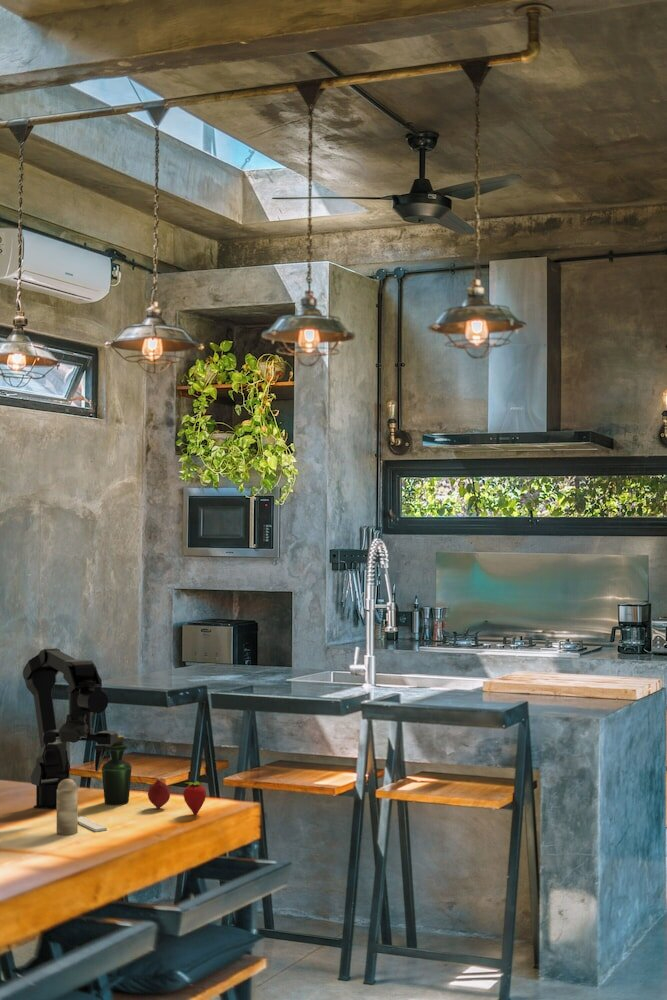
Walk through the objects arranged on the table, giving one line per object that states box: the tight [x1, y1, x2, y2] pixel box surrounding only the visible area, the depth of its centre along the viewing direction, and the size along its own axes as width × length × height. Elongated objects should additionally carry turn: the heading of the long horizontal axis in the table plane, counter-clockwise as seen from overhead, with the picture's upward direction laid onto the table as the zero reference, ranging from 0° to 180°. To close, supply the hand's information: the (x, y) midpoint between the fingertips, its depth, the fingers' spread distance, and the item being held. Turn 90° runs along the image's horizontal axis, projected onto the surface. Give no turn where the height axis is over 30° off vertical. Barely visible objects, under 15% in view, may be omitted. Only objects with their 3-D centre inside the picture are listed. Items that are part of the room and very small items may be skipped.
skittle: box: [56, 778, 79, 836], centre depth 296 cm, size 5×5×13 cm
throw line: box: [78, 816, 108, 833], centre depth 304 cm, size 16×3×1 cm, turn 33°
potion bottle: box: [101, 734, 132, 806], centre depth 332 cm, size 8×8×18 cm
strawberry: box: [182, 780, 207, 815], centre depth 316 cm, size 6×8×10 cm
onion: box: [147, 777, 171, 809], centre depth 324 cm, size 6×6×8 cm
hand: (80, 770), depth 313 cm, fingers open, 9 cm apart
